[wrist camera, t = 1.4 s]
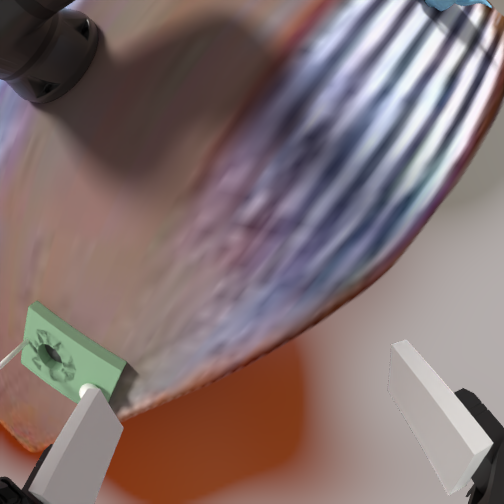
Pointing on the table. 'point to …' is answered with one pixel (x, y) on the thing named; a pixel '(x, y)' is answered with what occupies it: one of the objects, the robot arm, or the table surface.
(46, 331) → the green
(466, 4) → the teapot
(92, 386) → the ball
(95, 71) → the table surface
